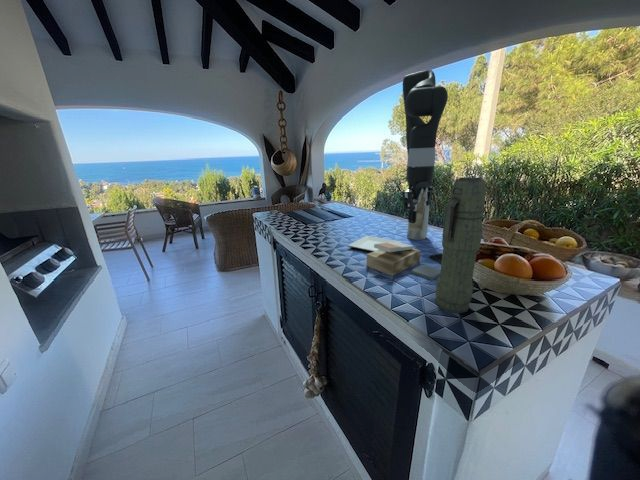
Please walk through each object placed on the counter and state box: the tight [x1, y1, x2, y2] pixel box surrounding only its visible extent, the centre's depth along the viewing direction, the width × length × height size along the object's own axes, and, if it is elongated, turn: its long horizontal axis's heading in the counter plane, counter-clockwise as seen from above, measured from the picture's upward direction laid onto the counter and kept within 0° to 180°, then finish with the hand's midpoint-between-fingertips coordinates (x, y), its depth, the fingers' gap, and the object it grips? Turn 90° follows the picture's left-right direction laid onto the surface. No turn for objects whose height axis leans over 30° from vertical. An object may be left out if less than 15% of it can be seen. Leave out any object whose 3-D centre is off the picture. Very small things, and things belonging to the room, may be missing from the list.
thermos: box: [434, 177, 487, 314], centre depth 67 cm, size 9×12×35 cm
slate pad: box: [410, 264, 441, 281], centre depth 92 cm, size 8×8×1 cm
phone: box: [429, 252, 443, 265], centre depth 100 cm, size 8×1×15 cm
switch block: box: [366, 248, 421, 277], centre depth 100 cm, size 18×12×6 cm, turn 130°
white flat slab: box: [374, 242, 415, 252], centre depth 98 cm, size 16×7×1 cm, turn 130°
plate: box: [347, 235, 402, 253], centre depth 120 cm, size 19×19×2 cm
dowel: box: [409, 192, 425, 231], centre depth 79 cm, size 4×4×12 cm
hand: (415, 221), depth 80 cm, fingers closed on dowel, 4 cm apart
